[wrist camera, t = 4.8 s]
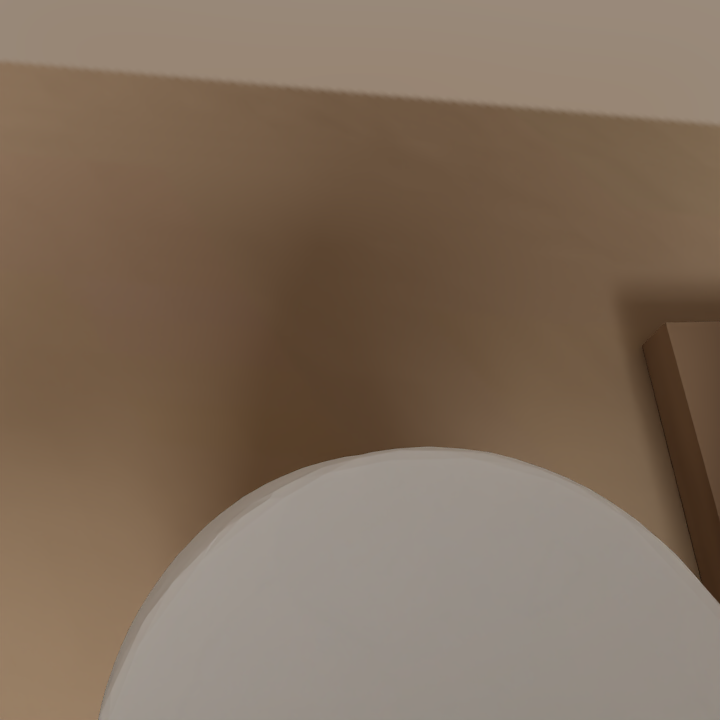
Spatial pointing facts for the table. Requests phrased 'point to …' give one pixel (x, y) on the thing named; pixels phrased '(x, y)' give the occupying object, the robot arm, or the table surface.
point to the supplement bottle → (422, 604)
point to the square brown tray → (692, 429)
